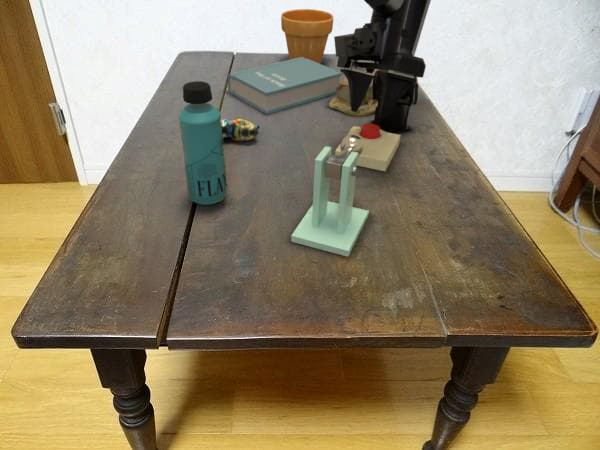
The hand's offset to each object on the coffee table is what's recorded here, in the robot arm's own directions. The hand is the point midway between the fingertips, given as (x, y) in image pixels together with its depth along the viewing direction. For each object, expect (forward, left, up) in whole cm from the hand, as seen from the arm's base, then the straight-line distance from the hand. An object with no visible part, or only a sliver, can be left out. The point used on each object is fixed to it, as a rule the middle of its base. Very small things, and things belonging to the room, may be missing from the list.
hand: (367, 114), depth 85 cm
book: (-2, -39, -11) cm, 41 cm away
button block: (-4, -4, -11) cm, 12 cm away
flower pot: (-17, -57, -11) cm, 61 cm away
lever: (+12, +12, -2) cm, 17 cm away
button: (-4, -4, -7) cm, 9 cm away
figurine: (+20, -22, -11) cm, 32 cm away
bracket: (+15, +15, -11) cm, 23 cm away
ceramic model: (-15, -25, -11) cm, 32 cm away
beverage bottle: (+30, 0, -11) cm, 32 cm away
